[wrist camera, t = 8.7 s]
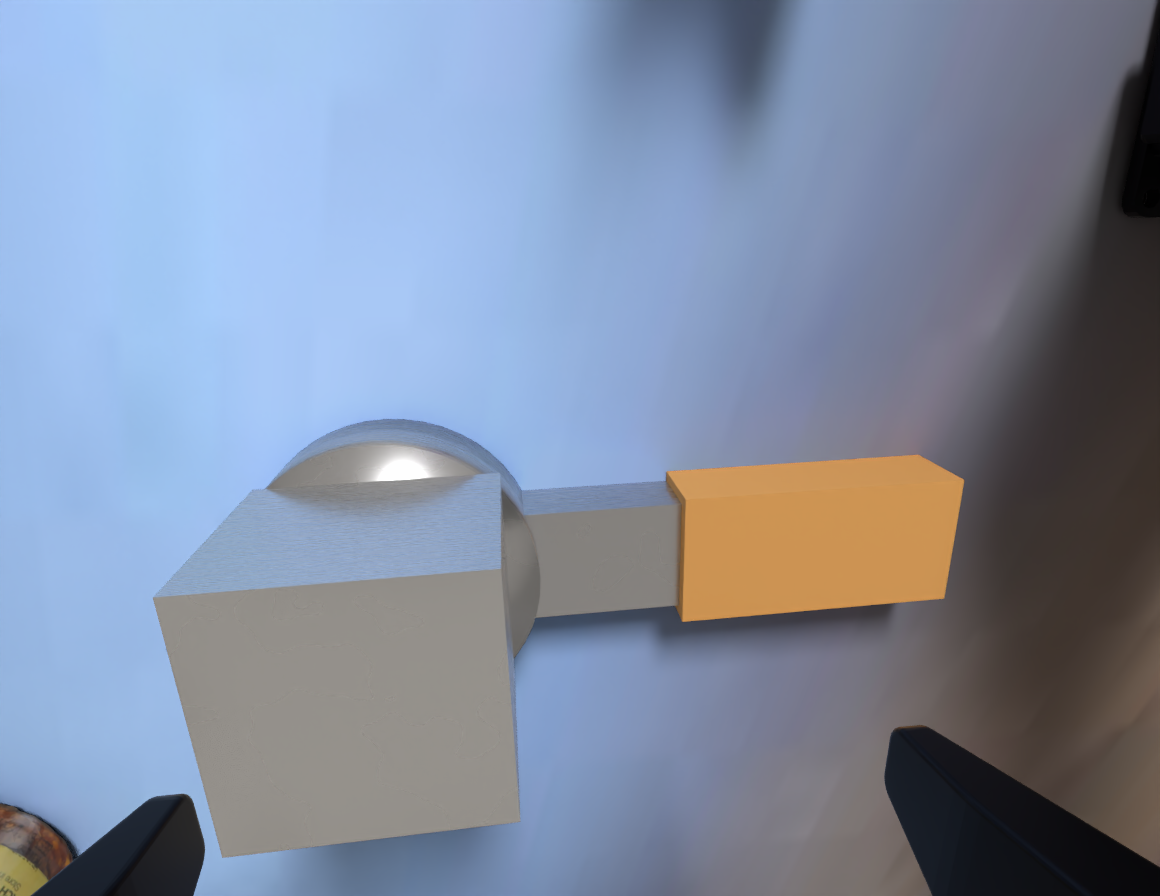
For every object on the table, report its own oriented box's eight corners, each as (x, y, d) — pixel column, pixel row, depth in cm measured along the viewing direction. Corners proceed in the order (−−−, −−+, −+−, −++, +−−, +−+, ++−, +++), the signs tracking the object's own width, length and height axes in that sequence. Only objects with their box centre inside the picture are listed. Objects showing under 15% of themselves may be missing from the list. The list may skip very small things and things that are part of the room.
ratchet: (927, 388, 20) (1072, 444, 15) (894, 618, 23) (1008, 732, 18) (234, 427, 18) (131, 506, 13) (283, 674, 21) (214, 821, 16)
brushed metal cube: (500, 472, 17) (500, 568, 12) (514, 672, 19) (520, 821, 14) (252, 489, 16) (152, 597, 12) (293, 694, 18) (222, 857, 14)
